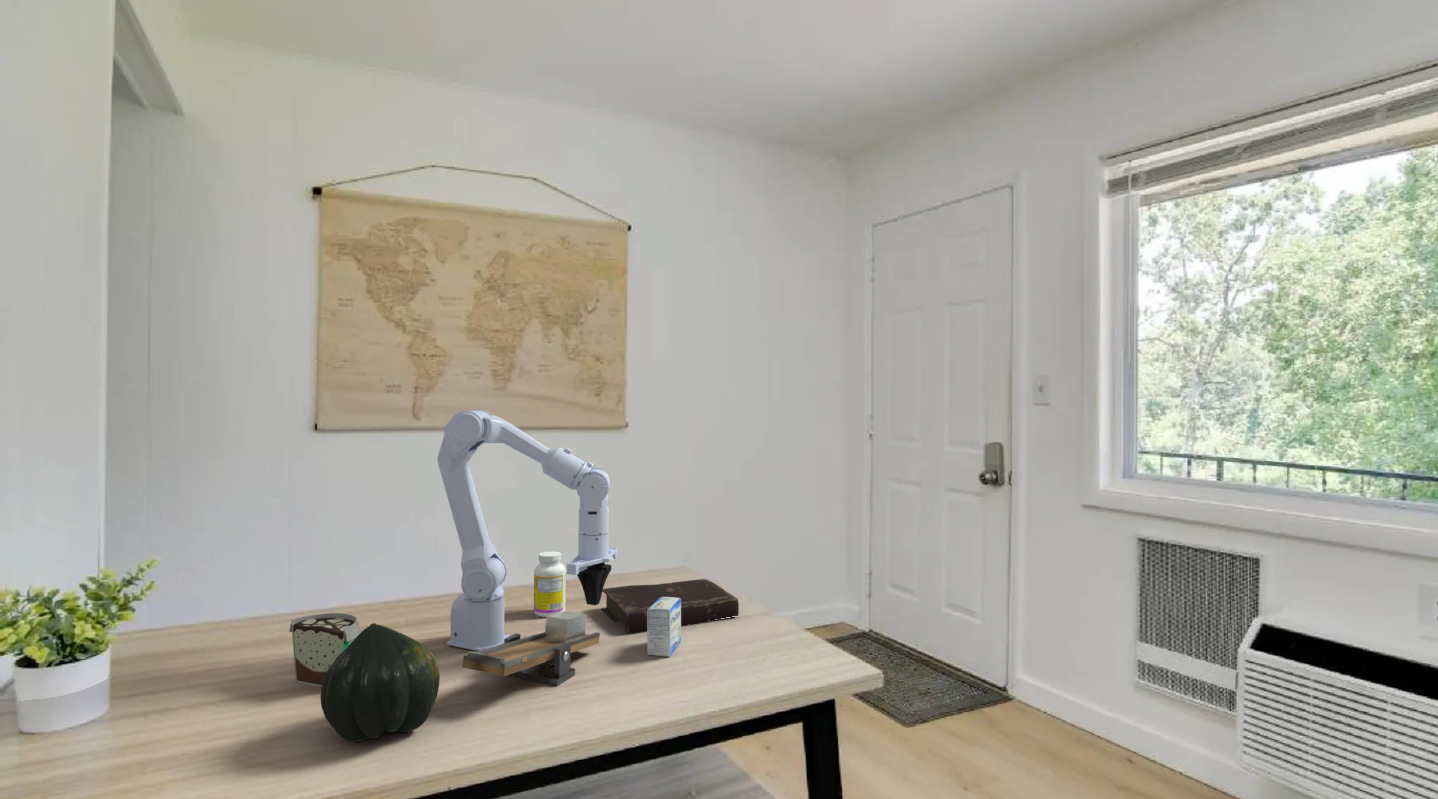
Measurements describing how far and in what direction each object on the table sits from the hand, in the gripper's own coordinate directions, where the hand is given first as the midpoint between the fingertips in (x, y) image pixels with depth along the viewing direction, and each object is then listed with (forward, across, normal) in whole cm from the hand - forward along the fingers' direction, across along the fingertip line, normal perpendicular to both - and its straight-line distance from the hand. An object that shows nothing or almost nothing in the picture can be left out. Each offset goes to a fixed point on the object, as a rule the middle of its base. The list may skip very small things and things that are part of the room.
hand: (593, 603), depth 133 cm
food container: (+8, -32, +29) cm, 44 cm away
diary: (+8, +22, -5) cm, 24 cm away
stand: (+7, -17, 0) cm, 18 cm away
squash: (+8, -41, +8) cm, 43 cm away
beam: (+3, -17, 0) cm, 17 cm away
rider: (+4, -9, 0) cm, 10 cm away
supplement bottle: (+8, +11, +18) cm, 22 cm away
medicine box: (+8, +3, -14) cm, 16 cm away
